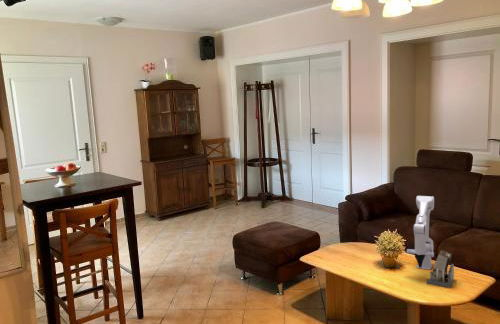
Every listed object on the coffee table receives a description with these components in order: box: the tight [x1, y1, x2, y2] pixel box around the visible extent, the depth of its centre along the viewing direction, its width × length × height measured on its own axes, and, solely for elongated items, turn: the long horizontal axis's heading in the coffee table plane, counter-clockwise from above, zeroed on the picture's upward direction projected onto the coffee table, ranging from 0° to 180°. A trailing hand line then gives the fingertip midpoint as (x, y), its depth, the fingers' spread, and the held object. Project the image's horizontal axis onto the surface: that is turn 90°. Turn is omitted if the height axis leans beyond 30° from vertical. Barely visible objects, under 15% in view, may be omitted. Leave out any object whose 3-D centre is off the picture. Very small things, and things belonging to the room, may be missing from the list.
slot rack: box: [426, 263, 455, 289], centre depth 228 cm, size 13×12×10 cm
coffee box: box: [429, 249, 453, 281], centre depth 228 cm, size 9×6×16 cm
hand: (420, 266), depth 234 cm, fingers closed
